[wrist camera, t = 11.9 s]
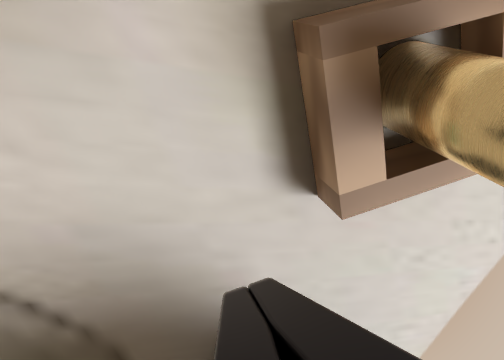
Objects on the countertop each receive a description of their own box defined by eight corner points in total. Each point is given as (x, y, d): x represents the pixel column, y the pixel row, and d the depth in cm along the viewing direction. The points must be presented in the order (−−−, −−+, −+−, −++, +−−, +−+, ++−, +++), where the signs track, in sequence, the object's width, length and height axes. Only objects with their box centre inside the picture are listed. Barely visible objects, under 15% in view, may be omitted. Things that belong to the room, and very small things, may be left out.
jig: (496, 137, 24) (537, 153, 22) (317, 196, 22) (342, 219, 20) (504, -32, 21) (553, -33, 18) (292, 20, 19) (318, 26, 17)
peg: (445, 116, 23) (603, 177, 16) (370, 139, 22) (501, 215, 15) (443, 31, 21) (621, 57, 14) (362, 53, 20) (507, 94, 13)
